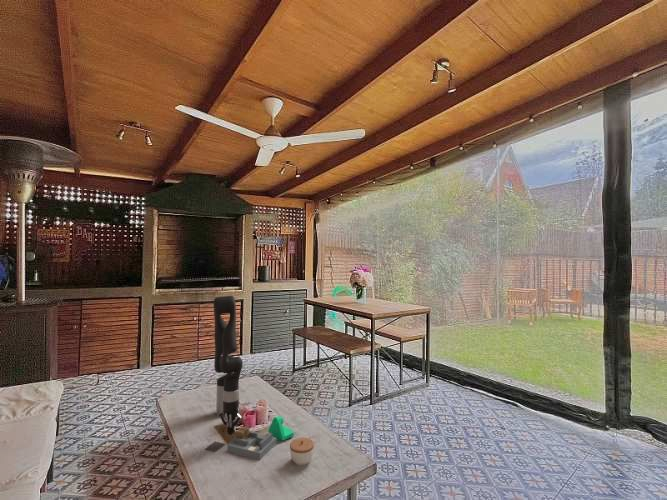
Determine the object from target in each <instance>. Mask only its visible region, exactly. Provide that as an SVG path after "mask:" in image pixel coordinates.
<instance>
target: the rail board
mask: <svg viewBox="0 0 667 500" xmlns="http://www.w3.org/2000/svg"><path fill="white" fill-rule="evenodd" d="M256 445H259V447H256ZM276 445H277V439H276V438H275V437H273V434H271V433H270V432H269V434H267V435H266V434H261V433H259V432H256V431H252V430H249V438H248V439H247V440H245V439H240V438H236V436H233V437H232V441H231V442H230V443H228V444H227V446H226V447H227V452H228V453H232V454H237V455H239V456H244V457H247V458H251V459H254V460H262V459H263V458H264V457H265V456H266V455H267V454H268V453H269V452H270V451H271V450H272V449H273V448H274V447H275V446H276Z"/></svg>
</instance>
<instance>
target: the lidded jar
mask: <svg viewBox="0 0 667 500" xmlns="http://www.w3.org/2000/svg"><path fill="white" fill-rule="evenodd" d="M314 448H315V442H314V441H313V440H312V439H311V438H309V437H298V438H295V439H293V440H292V441H291V442H290V444H289V449H290V450H289V452H290V453H289V454H290V458H291V460H292V461H293V462H294V464H295V465H298V466H301V467H302V466H303V467H304V466H306V465H308V464H309V462H310V461H311V460H312V458H313V456H314V450H315V449H314Z"/></svg>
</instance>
